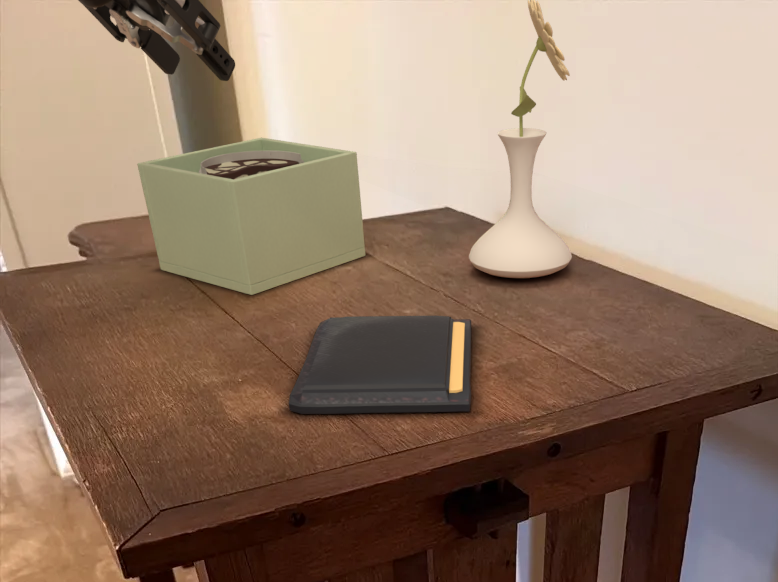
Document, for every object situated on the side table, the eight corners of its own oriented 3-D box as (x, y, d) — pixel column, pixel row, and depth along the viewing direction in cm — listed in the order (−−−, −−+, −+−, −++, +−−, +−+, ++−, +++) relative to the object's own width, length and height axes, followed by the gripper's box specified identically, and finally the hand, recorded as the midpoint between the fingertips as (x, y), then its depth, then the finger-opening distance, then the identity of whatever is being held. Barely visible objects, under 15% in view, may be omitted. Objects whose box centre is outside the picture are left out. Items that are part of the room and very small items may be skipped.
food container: (291, 237, 111) (278, 145, 104) (316, 248, 107) (305, 153, 100) (195, 256, 105) (176, 159, 98) (218, 269, 101) (199, 169, 95)
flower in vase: (557, 291, 96) (568, 3, 81) (455, 282, 99) (447, 2, 84) (584, 257, 106) (599, -6, 90) (490, 250, 109) (489, -7, 93)
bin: (160, 269, 104) (136, 163, 97) (275, 235, 115) (261, 137, 108) (251, 295, 97) (232, 181, 90) (365, 255, 108) (356, 151, 101)
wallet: (319, 307, 88) (477, 307, 87) (321, 327, 89) (478, 327, 88) (276, 392, 72) (469, 392, 71) (280, 415, 73) (470, 415, 73)
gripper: (138, -116, 74) (265, 40, 88) (38, -113, 81) (172, 32, 95) (98, -32, 74) (232, 110, 88) (2, -36, 81) (141, 97, 95)
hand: (201, 69), depth 92 cm, fingers open, 8 cm apart
